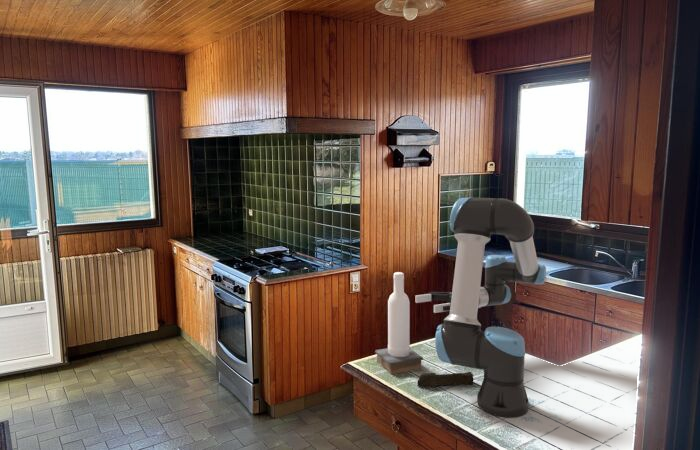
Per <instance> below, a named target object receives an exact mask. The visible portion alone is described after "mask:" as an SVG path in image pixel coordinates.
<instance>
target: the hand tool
mask: <svg viewBox="0 0 700 450" xmlns="http://www.w3.org/2000/svg"><path fill="white" fill-rule="evenodd" d="M416 384H417V387H419V388H435V387H437V386H445V385H446V386H447V385H462V384H463V385H465V384H470V385H472V386H473V384H474V375H473V372H471V371H467V372H454V373H446V374H443V373H442V374H436V373H435V372H425V373H422V374H420V375H419V377H418V379H417V383H416Z"/></svg>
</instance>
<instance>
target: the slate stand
mask: <svg viewBox="0 0 700 450" xmlns="http://www.w3.org/2000/svg"><path fill="white" fill-rule="evenodd" d="M374 352H375V354H376V362H377V364H378V365H380V366H381V367H382V368H383V369H384V370H385V371H386V372H388V373H389V374H390V375H395V374H400V373H406V372H407V373H408V372H412V371H417V370H418V371H419V370H422V361H423V360H424V357H423V356H422V355H420V354H419V353H417V351H415V350H414V349H412V348H411V347H410V354H409V355H408V356H406V357H393V356H390V355H389V354H388V347H386V348H381V349H375V350H374Z"/></svg>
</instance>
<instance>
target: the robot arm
mask: <svg viewBox="0 0 700 450" xmlns="http://www.w3.org/2000/svg"><path fill="white" fill-rule="evenodd" d="M449 228H450V231H451V232H453V233H454V235H453V236H454V239H456V241H457V249H456V259H455V267H454V273H453V283H452V291H428V293H424V294H418V295H417V294H416V295H414V296H415V300H414V301H415V303H416V304H419V303H426V302H427V303H429V302H430V303H431V302H432V301H438V302H447V303H440V304H433V313H434V314H437V313H445V312H449V314H448V315H447V316H446V317H445V318H444V319H443V323H440V324H439V325H438V326H437V328H436V332H435V338H434V339H435V340H434V344H435V351H436V355H437V356H438V359H439V360H440V361H441V362H442V363H443V362H444V363H445V364H451V365H452V366H455V365H456V366H461V367H464V368H465V367H466V368H471V369H475V370H483V380H482V383H481V385H480V389H479V391H478V392H477V395H476V399H477V400H476V403H477V406H478V407H479V408H480V409H481V410H482V411H484V412H486V413H488V414H490V415H493V416H497V417H503V418H505V417H506V418H514V417H515V418H517V417H521V416H523V415H526V413H528V412H529V405H530V401H529V397H528V395H527V391H526V388H525V384H524V381H525V379H524V376H525V375H524V374H525V355H526V347H525V345H526V344H525V338H524V337H523V335H521V334H520V333H518V332H517V331H515V330H512V329H511V328H507V327H503V326H488V327H486V328H485V330H482V329H481V328H482V324H481V323H480V322H479V320H478V310H479V309H481V308H482V307H490V306H500V305H504V304H507V303H509V302H510V301H511V298H512V292H511V288H510V287H509V286H508V285H507V284H506V282H509V283H510V282H511V283H519V284H520V283H521V284H530V285H544V284H545V283H546V277H547V267H546V265H544V264H542V263H539V261H538V257H537V252H536V246H535V242H534V237H533V236H534V233H535V225H534V222H533V219H532V217H531V216H530V214H529V213H528V211H527V210H526V209H524V208H523V206H521V205H520V204H518V203H517V202H515V201H514V200H513V201H512V200H510V199H508V198H493V197H492V198H491V197H473V196H471V197H459V198H458V199H457V200H456V201H455V202H454V204H453V205H452V209H451V212H450V216H449ZM492 235H501V236H504V237H505V238H506V239H507V240H508V241H509V244H510V248H511V251H512V255H513V258H514V261H507V259H506V256H505V255H500V254H490V255H487V256H486V258H485V265H484V256H485V255H484V254H485V247H486V244H487V243H489V242H490V241H491V236H492ZM483 265H484V286H481V285H482V284H481V283H482V276H483V275H482V273H483Z"/></svg>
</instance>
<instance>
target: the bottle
mask: <svg viewBox="0 0 700 450" xmlns="http://www.w3.org/2000/svg"><path fill="white" fill-rule="evenodd" d="M392 277H393V278H392V279H393V292H392V293H391V294H390V295H389V298H388V299H387V348H388V354H389V355H390V356H393V357H406V356H408V355H409V354H410V348H411V346H410V345H411V343H410V340H411V339H410V332H411V331H410V330H411V329H410V328H411V327H410V325H411V324H410V323H411V322H410V318H411V316H410V308H411V307H410V303H411V302H410V298H409V295H407V294H406V293H405V274H404V272H401V271H396V272H394V273H393V276H392Z"/></svg>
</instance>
